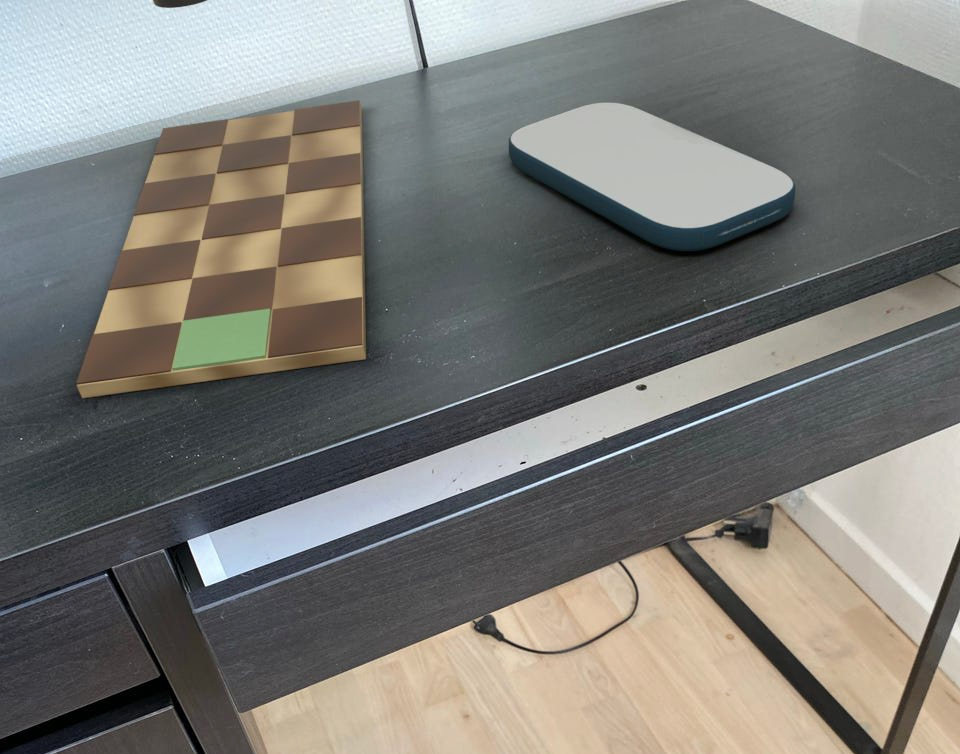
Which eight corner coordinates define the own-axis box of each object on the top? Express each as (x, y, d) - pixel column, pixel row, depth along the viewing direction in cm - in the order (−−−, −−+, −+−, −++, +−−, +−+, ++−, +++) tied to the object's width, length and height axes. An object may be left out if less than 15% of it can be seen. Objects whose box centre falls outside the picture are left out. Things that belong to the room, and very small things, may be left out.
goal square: (173, 370, 63) (172, 368, 63) (183, 323, 67) (182, 320, 67) (265, 358, 63) (264, 355, 63) (270, 311, 67) (270, 308, 67)
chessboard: (82, 399, 64) (75, 383, 63) (166, 140, 93) (162, 128, 92) (366, 359, 64) (363, 343, 63) (362, 112, 92) (360, 99, 92)
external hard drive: (494, 162, 82) (491, 136, 80) (611, 120, 85) (610, 95, 84) (680, 268, 67) (682, 239, 66) (813, 213, 71) (817, 184, 69)
